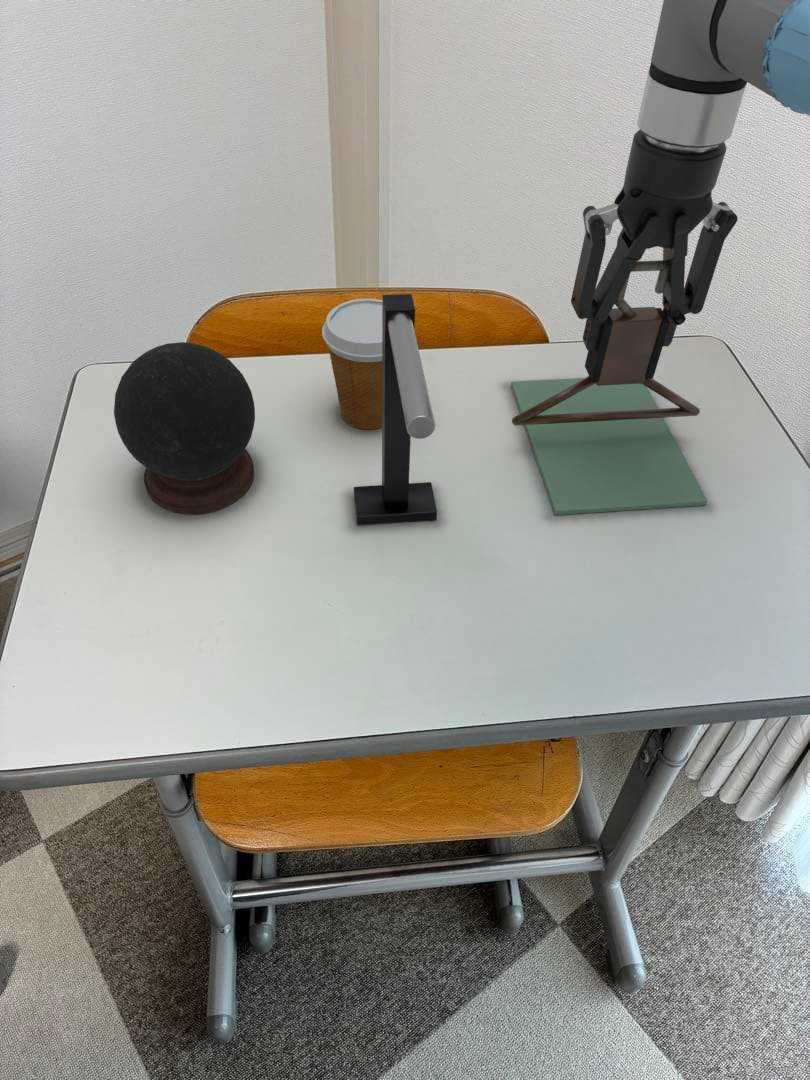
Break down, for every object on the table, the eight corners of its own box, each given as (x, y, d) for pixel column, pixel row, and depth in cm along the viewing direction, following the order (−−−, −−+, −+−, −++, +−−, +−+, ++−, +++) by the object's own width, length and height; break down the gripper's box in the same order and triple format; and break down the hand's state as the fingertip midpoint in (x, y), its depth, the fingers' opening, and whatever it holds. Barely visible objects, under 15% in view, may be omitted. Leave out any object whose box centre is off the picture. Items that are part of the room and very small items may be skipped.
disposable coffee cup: (375, 378, 96) (375, 287, 87) (427, 417, 91) (432, 324, 82) (310, 408, 92) (303, 315, 83) (361, 450, 87) (358, 357, 78)
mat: (510, 385, 96) (511, 381, 95) (639, 379, 97) (640, 374, 97) (554, 515, 81) (555, 511, 80) (706, 505, 82) (707, 501, 82)
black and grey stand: (430, 490, 83) (443, 285, 66) (455, 617, 71) (479, 411, 54) (353, 494, 82) (347, 289, 65) (367, 624, 71) (363, 417, 54)
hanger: (694, 408, 89) (751, 251, 75) (702, 421, 87) (761, 264, 73) (509, 417, 87) (533, 258, 73) (513, 431, 85) (539, 272, 71)
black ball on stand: (131, 448, 86) (94, 326, 75) (252, 427, 89) (234, 307, 78) (140, 533, 78) (101, 409, 67) (274, 507, 80) (257, 384, 70)
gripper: (767, 116, 69) (689, 347, 86) (562, 119, 67) (525, 355, 84) (806, 151, 63) (715, 390, 81) (586, 156, 62) (541, 398, 79)
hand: (618, 371), depth 82 cm, fingers closed on hanger, 5 cm apart
